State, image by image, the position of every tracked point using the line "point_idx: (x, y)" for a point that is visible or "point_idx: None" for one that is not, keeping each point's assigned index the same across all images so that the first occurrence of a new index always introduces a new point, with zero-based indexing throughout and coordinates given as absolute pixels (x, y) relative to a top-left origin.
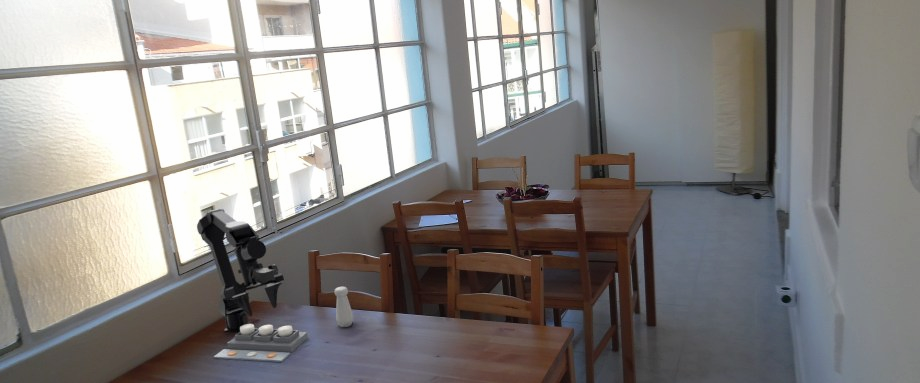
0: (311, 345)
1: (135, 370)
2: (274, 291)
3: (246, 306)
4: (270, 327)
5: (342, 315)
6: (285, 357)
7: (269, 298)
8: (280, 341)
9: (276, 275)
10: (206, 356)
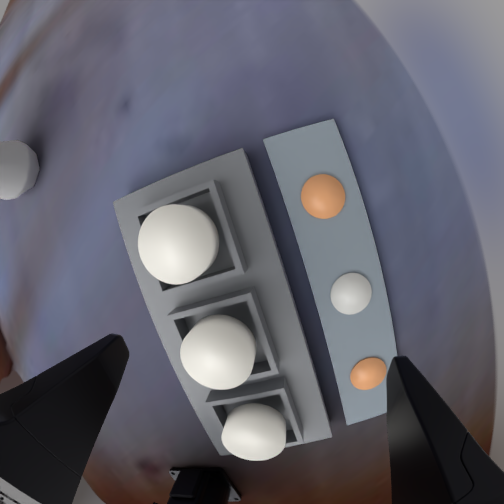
0: (167, 130)
1: None
2: (12, 413)
3: (463, 434)
4: (202, 336)
5: (9, 150)
6: (303, 127)
7: (92, 432)
8: (234, 230)
9: None
10: None
